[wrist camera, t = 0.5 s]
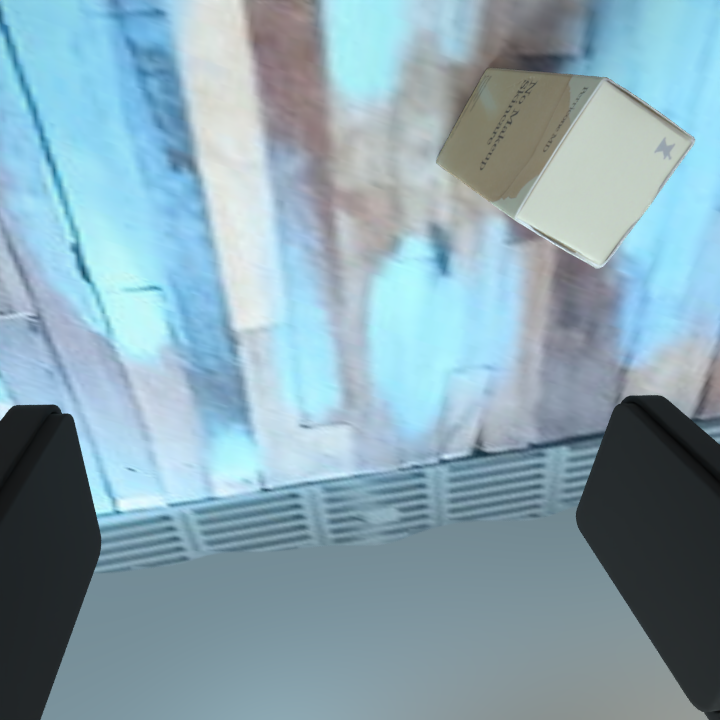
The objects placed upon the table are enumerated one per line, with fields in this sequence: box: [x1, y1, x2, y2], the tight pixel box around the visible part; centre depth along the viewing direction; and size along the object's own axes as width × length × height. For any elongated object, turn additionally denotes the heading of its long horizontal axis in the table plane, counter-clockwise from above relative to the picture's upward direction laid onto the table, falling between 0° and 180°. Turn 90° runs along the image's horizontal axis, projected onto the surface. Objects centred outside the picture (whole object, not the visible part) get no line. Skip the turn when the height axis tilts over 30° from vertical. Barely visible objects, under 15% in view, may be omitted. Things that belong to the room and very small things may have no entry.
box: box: [436, 68, 695, 268], centre depth 22 cm, size 5×4×11 cm
